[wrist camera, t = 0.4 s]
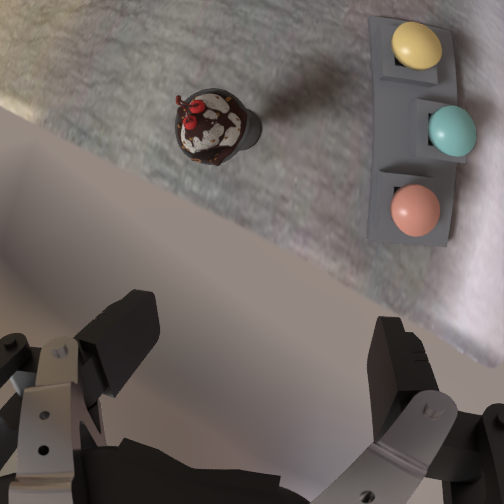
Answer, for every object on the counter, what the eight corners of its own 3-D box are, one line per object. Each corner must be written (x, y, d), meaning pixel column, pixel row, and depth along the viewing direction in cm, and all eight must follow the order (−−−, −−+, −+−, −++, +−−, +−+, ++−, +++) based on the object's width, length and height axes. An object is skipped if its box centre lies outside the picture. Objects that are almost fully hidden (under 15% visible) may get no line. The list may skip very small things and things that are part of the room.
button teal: (419, 105, 26) (433, 101, 22) (459, 113, 25) (476, 110, 21) (419, 150, 27) (432, 152, 24) (458, 157, 27) (475, 159, 23)
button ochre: (384, 31, 24) (392, 18, 20) (426, 38, 23) (439, 27, 19) (387, 72, 25) (396, 63, 22) (430, 79, 24) (443, 71, 21)
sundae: (232, 90, 32) (175, 63, 19) (280, 122, 33) (251, 109, 19) (201, 136, 35) (130, 138, 21) (246, 168, 35) (198, 188, 22)
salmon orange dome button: (386, 178, 29) (395, 183, 25) (428, 182, 28) (442, 188, 25) (382, 223, 31) (390, 234, 27) (424, 226, 30) (436, 238, 26)
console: (367, 20, 26) (372, 7, 22) (446, 34, 24) (459, 24, 20) (366, 237, 35) (371, 248, 31) (442, 242, 33) (454, 254, 29)
